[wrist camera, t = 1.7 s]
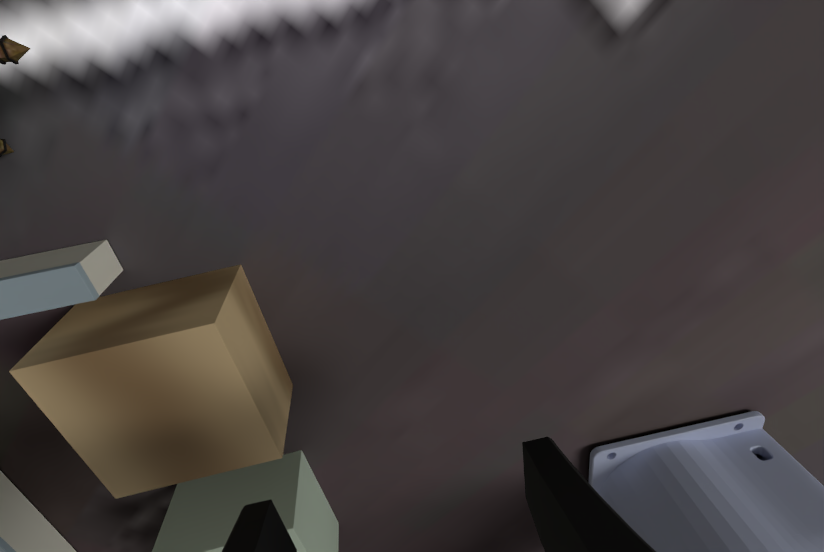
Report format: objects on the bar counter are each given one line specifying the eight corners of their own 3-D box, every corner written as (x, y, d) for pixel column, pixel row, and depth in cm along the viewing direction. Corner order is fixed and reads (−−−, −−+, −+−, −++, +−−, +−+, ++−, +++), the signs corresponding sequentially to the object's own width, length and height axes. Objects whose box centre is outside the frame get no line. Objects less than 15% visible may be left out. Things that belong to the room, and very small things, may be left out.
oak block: (241, 262, 16) (214, 323, 13) (293, 381, 19) (282, 457, 16) (80, 299, 16) (8, 371, 13) (156, 414, 19) (115, 498, 16)
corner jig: (99, 226, 15) (66, 251, 13) (280, 556, 25) (275, 597, 23) (-216, 288, 15) (-293, 323, 13) (94, 600, 24) (75, 644, 23)
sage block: (301, 446, 21) (293, 528, 18) (338, 520, 24) (337, 601, 21) (179, 479, 21) (146, 566, 18) (230, 548, 24) (211, 635, 21)
